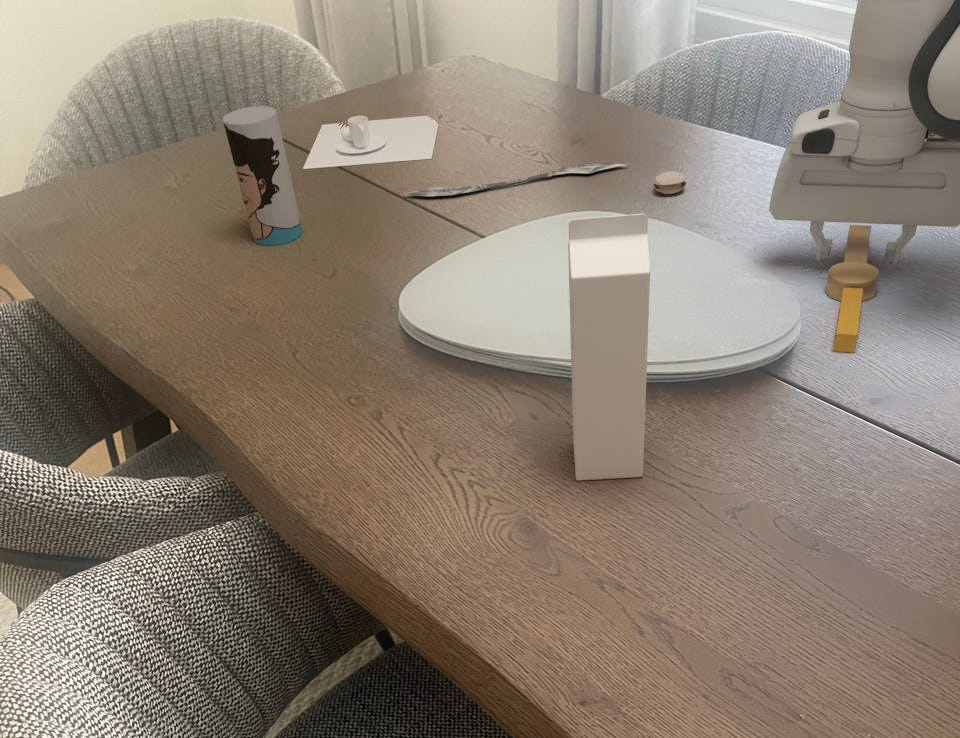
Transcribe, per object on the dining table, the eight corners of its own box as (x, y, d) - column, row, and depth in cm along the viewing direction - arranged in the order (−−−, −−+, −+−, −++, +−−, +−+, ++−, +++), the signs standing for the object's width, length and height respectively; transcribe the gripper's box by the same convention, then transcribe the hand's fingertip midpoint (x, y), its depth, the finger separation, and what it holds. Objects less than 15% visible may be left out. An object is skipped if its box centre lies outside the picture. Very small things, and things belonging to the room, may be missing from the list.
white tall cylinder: (270, 222, 135) (242, 104, 124) (311, 226, 132) (286, 107, 122) (243, 243, 130) (211, 123, 120) (285, 247, 128) (257, 125, 117)
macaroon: (658, 199, 128) (659, 180, 126) (646, 186, 132) (647, 167, 130) (689, 194, 128) (690, 174, 127) (676, 181, 132) (677, 161, 130)
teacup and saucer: (341, 138, 156) (336, 111, 153) (389, 134, 156) (385, 106, 153) (333, 158, 150) (327, 130, 147) (383, 154, 149) (379, 125, 147)
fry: (853, 353, 97) (857, 334, 96) (833, 351, 98) (836, 333, 96) (859, 306, 104) (863, 288, 102) (840, 304, 104) (843, 287, 103)
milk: (573, 444, 91) (565, 203, 75) (638, 439, 90) (644, 196, 75) (575, 482, 86) (568, 235, 71) (644, 478, 86) (652, 229, 70)
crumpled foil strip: (403, 194, 137) (408, 207, 133) (402, 190, 136) (407, 202, 133) (620, 156, 140) (631, 168, 136) (620, 152, 139) (631, 164, 136)
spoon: (834, 242, 115) (837, 224, 113) (880, 244, 113) (884, 225, 112) (823, 300, 105) (826, 281, 104) (874, 304, 104) (878, 284, 102)
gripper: (991, 117, 98) (956, 252, 108) (783, 115, 104) (767, 243, 113) (993, 140, 94) (956, 277, 104) (776, 136, 100) (760, 267, 109)
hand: (856, 259), depth 109 cm, fingers open, 6 cm apart
